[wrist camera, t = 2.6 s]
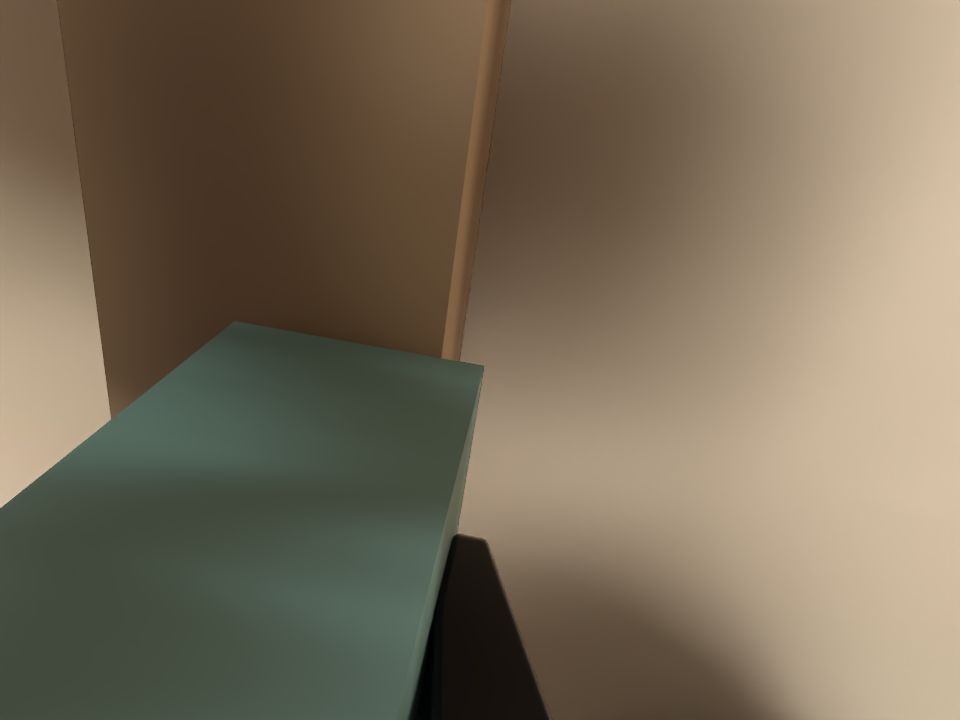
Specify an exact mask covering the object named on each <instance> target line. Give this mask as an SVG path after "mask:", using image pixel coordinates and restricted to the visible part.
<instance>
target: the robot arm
mask: <svg viewBox="0 0 960 720" xmlns="http://www.w3.org/2000/svg"><path fill="white" fill-rule="evenodd" d="M418 720H552V718H551V716H550V713H549V710H548V707H547V705H546V702H545V699H544V696H543V694H542V691H541V688H540V685H539V683H538V680H537V677H536V674H535V672H534V669H533V666H532V663H531V661H530V658H529V655H528V652H527V650H526V647H525V644H524V641H523V639H522V636H521V633H520V630H519V628H518V625H517V622H516V619H515V617H514V614H513V611H512V608H511V606H510V603H509V600H508V597H507V595H506V592H505V589H504V586H503V584H502V581H501V578H500V575H499V573H498V570H497V567H496V564H495V561H494V559H493V556H492V553H491V550H490V548H489V545H488V543H487V541H486V540H485V539H483V538H479V537H473V536H468V535H463V534H456V535H454V536H453V538H452V542H451V546H450V550H449V554H448V558H447V562H446V566H445V570H444V574H443V578H442V582H441V586H440V590H439V594H438V599H437V604H436V609H435V615H434V622H433V628H432V635H431V641H430V648H429V654H428V661H427V667H426V674H425V680H424V687H423V693H422V700H421V706H420V713H419V719H418Z"/></svg>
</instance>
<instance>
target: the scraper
mask: <svg viewBox="0 0 960 720" xmlns="http://www.w3.org/2000/svg"><path fill="white" fill-rule="evenodd" d="M57 1H58V9H59V17H60V25H61V33H62V40H63V48H64V56H65V64H66V71H67V79H68V87H69V95H70V102H71V110H72V118H73V126H74V133H75V141H76V149H77V157H78V164H79V172H80V180H81V188H82V195H83V203H84V211H85V219H86V226H87V234H88V242H89V250H90V258H91V265H92V273H93V281H94V289H95V296H96V304H97V312H98V320H99V327H100V335H101V343H102V351H103V358H104V366H105V374H106V382H107V389H108V397H109V405H110V413H111V420H110V421H109V422H108V423H107V424H105V425H104V426H103V427H102V428H100V429H99V430H98V431H97V432H95V433H94V434H93V435H92V436H90V437H89V438H88V439H87V440H85V441H84V442H83V443H82V444H80V445H79V446H78V447H77V448H75V449H74V450H73V451H72V452H70V453H69V454H68V455H67V456H65V457H64V458H63V459H62V460H60V461H59V462H58V463H57V464H55V465H54V466H53V467H52V468H50V469H49V470H48V471H47V472H45V473H44V474H43V475H42V476H40V477H39V478H38V479H37V480H35V481H34V482H33V483H32V484H30V485H29V486H28V487H27V488H25V489H24V490H23V491H22V492H20V493H19V494H18V495H17V496H15V497H14V498H13V499H12V500H10V501H9V502H8V503H7V504H5V505H4V506H3V507H2V508H0V720H418V719H419V713H420V706H421V700H422V693H423V687H424V680H425V674H426V667H427V661H428V654H429V648H430V641H431V635H432V628H433V622H434V615H435V609H436V604H437V599H438V594H439V590H440V586H441V582H442V578H443V574H444V570H445V566H446V562H447V558H448V554H449V550H450V546H451V542H452V538H453V536H454V535H456V534H457V531H458V525H459V518H460V512H461V506H462V500H463V494H464V488H465V481H466V475H467V469H468V463H469V457H470V451H471V445H472V438H473V432H474V426H475V420H476V414H477V408H478V401H479V395H480V389H481V383H482V377H483V371H484V366H481V365H476V364H470V363H465V362H459V361H460V354H461V347H462V340H463V333H464V326H465V319H466V312H467V305H468V298H469V291H470V284H471V277H472V270H473V263H474V256H475V249H476V242H477V235H478V228H479V221H480V214H481V207H482V200H483V193H484V186H485V179H486V172H487V165H488V158H489V151H490V144H491V137H492V130H493V123H494V116H495V109H496V102H497V95H498V88H499V81H500V74H501V67H502V60H503V53H504V46H505V39H506V32H507V25H508V18H509V11H510V4H511V0H57Z"/></svg>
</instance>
